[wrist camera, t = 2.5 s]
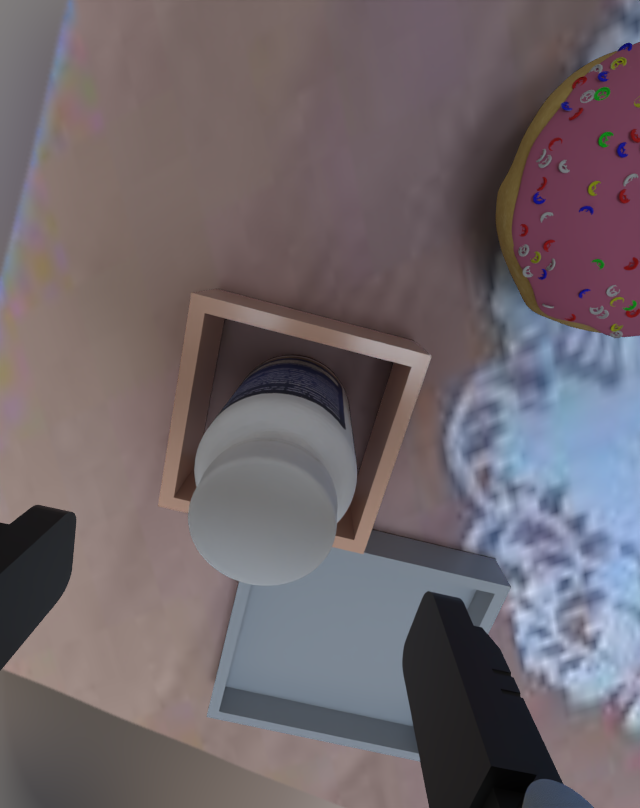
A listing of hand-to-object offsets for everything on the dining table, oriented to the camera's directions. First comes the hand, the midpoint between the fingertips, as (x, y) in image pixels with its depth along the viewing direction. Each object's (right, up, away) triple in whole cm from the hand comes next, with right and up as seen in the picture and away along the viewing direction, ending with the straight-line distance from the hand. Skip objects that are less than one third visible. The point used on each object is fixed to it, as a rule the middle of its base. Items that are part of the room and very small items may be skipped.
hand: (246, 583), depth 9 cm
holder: (0, +4, +11) cm, 11 cm away
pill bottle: (0, +4, +11) cm, 12 cm away
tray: (+3, -9, +15) cm, 17 cm away
